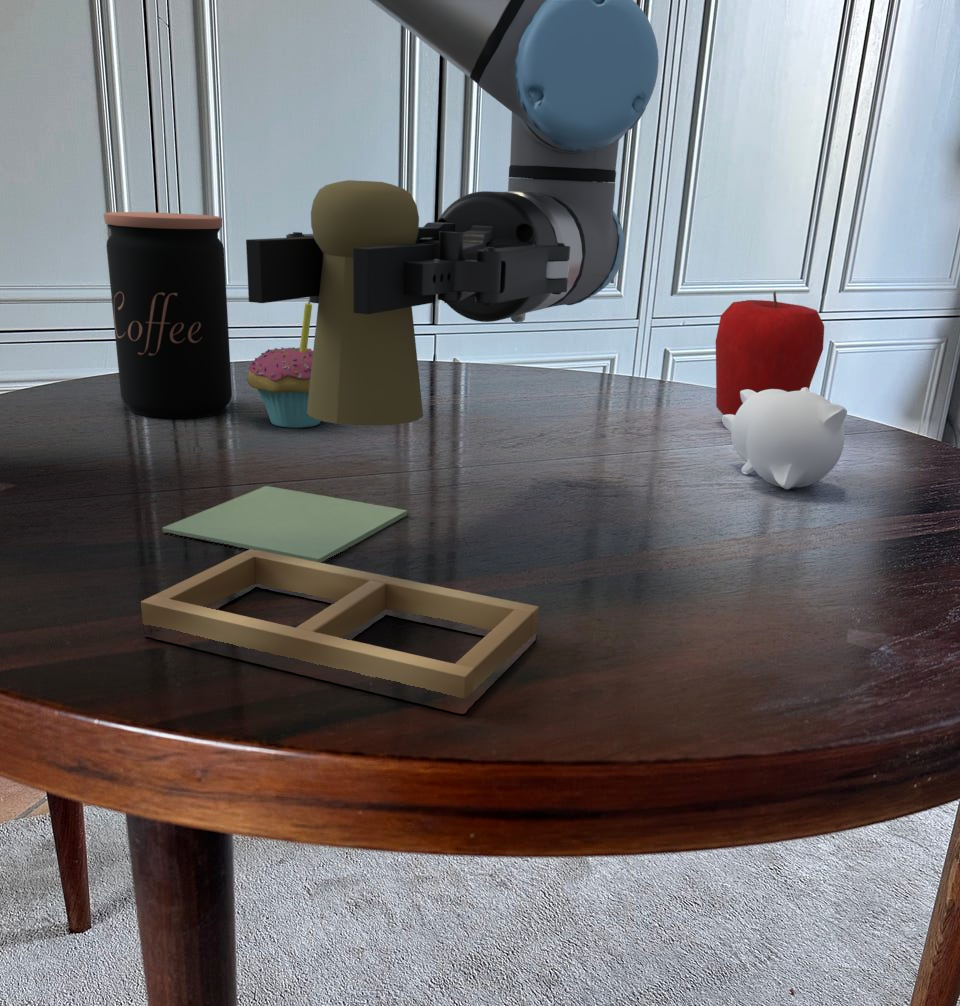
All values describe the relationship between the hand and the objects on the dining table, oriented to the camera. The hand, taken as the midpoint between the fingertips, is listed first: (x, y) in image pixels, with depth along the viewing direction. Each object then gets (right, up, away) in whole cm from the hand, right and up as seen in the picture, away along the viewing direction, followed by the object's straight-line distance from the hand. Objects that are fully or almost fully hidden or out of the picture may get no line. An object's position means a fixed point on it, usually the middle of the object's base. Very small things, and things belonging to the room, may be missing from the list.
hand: (307, 276), depth 46 cm
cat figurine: (+34, -3, +42) cm, 54 cm away
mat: (-5, -8, +25) cm, 27 cm away
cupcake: (-10, +5, +53) cm, 55 cm away
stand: (+1, -16, +8) cm, 18 cm away
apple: (+37, +6, +62) cm, 72 cm away
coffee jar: (-23, +7, +57) cm, 62 cm away
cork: (+2, -5, +7) cm, 9 cm away
